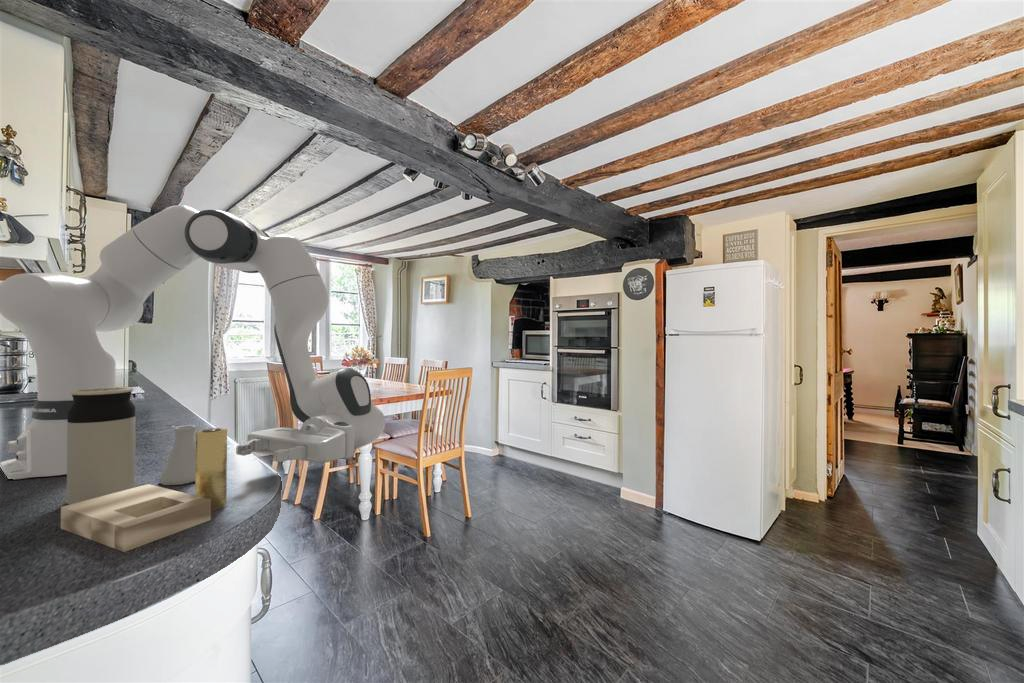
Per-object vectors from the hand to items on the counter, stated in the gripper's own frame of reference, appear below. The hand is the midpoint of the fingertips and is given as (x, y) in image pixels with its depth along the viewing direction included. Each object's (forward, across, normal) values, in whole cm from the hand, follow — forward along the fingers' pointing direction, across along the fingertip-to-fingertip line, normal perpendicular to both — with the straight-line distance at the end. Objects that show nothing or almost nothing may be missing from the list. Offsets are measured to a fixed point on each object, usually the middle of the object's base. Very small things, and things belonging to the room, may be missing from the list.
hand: (256, 453), depth 71 cm
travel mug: (+12, -20, +7) cm, 25 cm away
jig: (+15, -3, +6) cm, 17 cm away
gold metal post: (+8, 0, +6) cm, 10 cm away
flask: (+1, -18, +7) cm, 19 cm away
